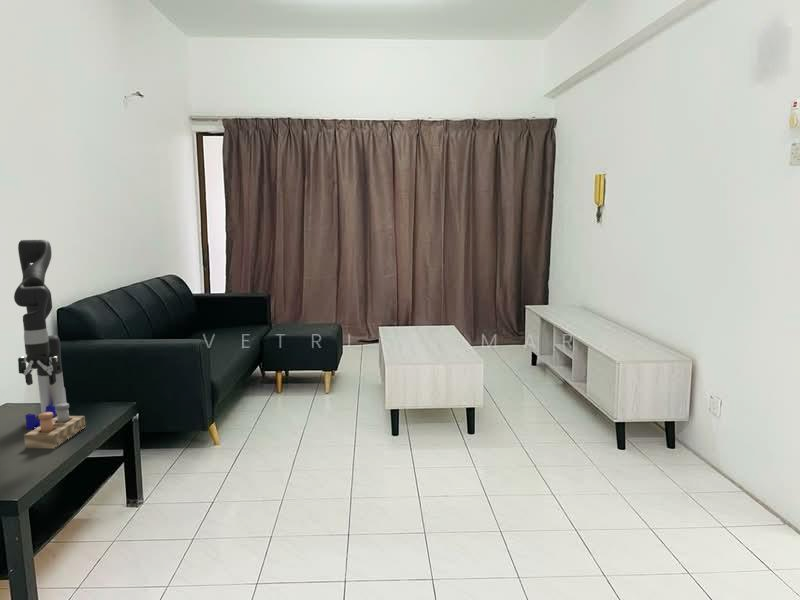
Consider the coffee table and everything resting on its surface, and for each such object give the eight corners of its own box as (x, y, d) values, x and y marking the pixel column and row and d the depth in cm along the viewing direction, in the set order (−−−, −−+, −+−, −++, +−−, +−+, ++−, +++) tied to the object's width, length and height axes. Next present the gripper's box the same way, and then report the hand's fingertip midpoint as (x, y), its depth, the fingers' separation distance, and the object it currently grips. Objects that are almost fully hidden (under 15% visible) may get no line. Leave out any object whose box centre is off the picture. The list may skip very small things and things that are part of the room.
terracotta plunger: (45, 431, 225) (43, 411, 223) (57, 431, 224) (55, 412, 223) (37, 436, 220) (35, 416, 219) (50, 436, 220) (47, 416, 218)
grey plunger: (61, 421, 234) (59, 403, 233) (73, 421, 234) (71, 403, 233) (54, 426, 230) (52, 407, 228) (66, 426, 229) (64, 407, 228)
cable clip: (47, 418, 248) (45, 405, 247) (56, 419, 247) (54, 405, 247) (23, 429, 237) (22, 415, 236) (33, 430, 236) (31, 415, 235)
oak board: (58, 427, 238) (57, 415, 237) (85, 428, 237) (84, 416, 236) (25, 448, 218) (24, 435, 217) (54, 448, 217) (53, 435, 217)
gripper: (61, 338, 220) (66, 381, 222) (24, 339, 220) (29, 381, 223) (49, 343, 212) (53, 387, 215) (10, 343, 213) (15, 387, 215)
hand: (41, 384), depth 219 cm, fingers open, 8 cm apart
